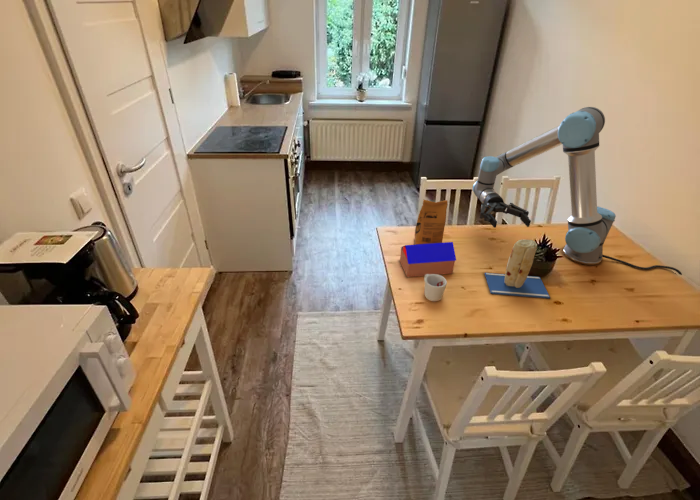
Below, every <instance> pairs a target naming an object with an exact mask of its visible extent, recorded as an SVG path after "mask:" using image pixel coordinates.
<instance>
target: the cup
mask: <svg viewBox="0 0 700 500" xmlns="http://www.w3.org/2000/svg"><path fill="white" fill-rule="evenodd" d="M423 277H424V278H423V281H424V291H423V292H424V297H425V298H426V299H427V300H428V301H431V302H439V301H441V300H442V298H443V296H444V293H445V291H446V287H447V285H448V281H447V279H446V278H445V277H444V276H443V275H442V274H430V275H429V274H426V275H424V276H423Z"/></svg>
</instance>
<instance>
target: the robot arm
mask: <svg viewBox="0 0 700 500" xmlns="http://www.w3.org/2000/svg"><path fill="white" fill-rule="evenodd" d="M605 124H606V117H605V114H604V112H603V111H602V110H601V109H599V108H597V107H596V106H595V107H594V106H586V107H585V106H584V107H582V108H580V109H578V110H576V111H575V112H572V113H570V114H568V115H567V116H565V118H564V119H563V120H562V121H561V122H560V124H559V125H557V126H555V127H554V128H551V129H548V130H547V131H545V132H543V133H541V134H539V135H536V137H533V138H531V139H529V140H527V141H525V142H524V143H521V144H519V145H517V146H515V147H513V148H511V149H509V150H507V151H505V152H503V153H500V154H498V155H497V156H492V155H488V156H484V157H483V158H482V159H481V162H480V164H479V172H478V177H477V180H476V181H475V182H474V183H473V185H472V192H473V193H474V195H475V197H477V198H478V200H479V201H480V202H481V206H480V213H479V219H481V220H482V219H483V220H484V222H488V223H490V225H491V226H492V227H493V229H494V228H497V225H498V220H497V219H496V218H495V217H494V216H493V214H494V213H502V214H506V215H507V214H508V215H511V216H514V217H516V218H519V219H520V221H521V222H522V223H523V224H524V225H525V226H526V227H527V228H529V227H530V226H531V222H532V220H531V219H530V217H529V215H530V214H529V213H530V212H529V210H527V209H524V208H522V207H520V206H518V205H516V204H514V203H513V202H510V203H509V204H507V203H505V201H504V199H503V197H502V196H501V195H500V194H499V193H498V192H497V191H496V190H495V189H494V186H495V184H496V183H495V182H496V179H497V176H498V175H500V174H502V173H503V172H505V171H507V170H509V169H511V168H514V167H515V166H518V165H520V164H523V163H524V162H527V161H529V160H531V159H533V158H536V157H537V156H540V155H542V154H544V153H547V152H549V151H551V150H554V149H555V148H557V147H560V146H562V152H563V153H564V154H565V155H566V156H567V161H568V163H567V164H568V176H569V177H568V179H569V193H570V209H571V214H570V216H569V217H568V218H567V229H568V230H567V232H566V233H565V237H564V241H565V245H564V246H563V249H562V253H563V255H564V256H565V257H566V258H567V259H569V260H570V261H572V262H574V263H577V264H580V265H584V266H597V265H599V264H600V263H601V262H602V260H603V258H605V259H609V260H612V261H615V262H618V263H620V264H623V265H626V266H629V267H632V268H635V269H638V270H643V271H648V270H653V269H657V268H658V269H667V270H673V271H675V272H676V273H677V274H678V275H680V276H682V275H683V272H681V270H680V269H678V268H676V267H673V266H668V265H659V264H655V265H652V266H647V267H643V266H638V265H636V264H632V263H629V262H628V261H625V260H621V259H618V258H615V257H612V256H609V255H605V254H603V250H604V243H605V241H606V240H607V237H608V235H609V233H610V230H611V229H612V226H613V224H614V222H615V221H616V217H617V216H616V213H615V212H614V211H612V210H610V209H608V208H606V207H601V206H598V199H597V198H598V197H597V174H596V173H597V172H596V150H598V149H599V148H600V133H601V132H602V130H603V129H604V127H605ZM486 210H487V211H486ZM485 211H486V212H485Z"/></svg>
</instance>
